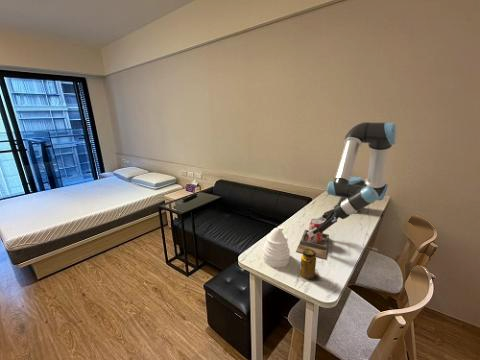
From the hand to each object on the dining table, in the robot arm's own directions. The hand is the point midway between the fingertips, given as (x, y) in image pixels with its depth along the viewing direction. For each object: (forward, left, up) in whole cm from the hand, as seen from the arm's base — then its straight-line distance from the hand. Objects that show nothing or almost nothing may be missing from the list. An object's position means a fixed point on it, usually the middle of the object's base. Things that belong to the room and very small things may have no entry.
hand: (311, 229), depth 120 cm
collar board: (+3, +2, -8) cm, 9 cm away
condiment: (+27, +5, -8) cm, 29 cm away
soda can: (0, +2, -7) cm, 7 cm away
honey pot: (+23, -12, -8) cm, 27 cm away
